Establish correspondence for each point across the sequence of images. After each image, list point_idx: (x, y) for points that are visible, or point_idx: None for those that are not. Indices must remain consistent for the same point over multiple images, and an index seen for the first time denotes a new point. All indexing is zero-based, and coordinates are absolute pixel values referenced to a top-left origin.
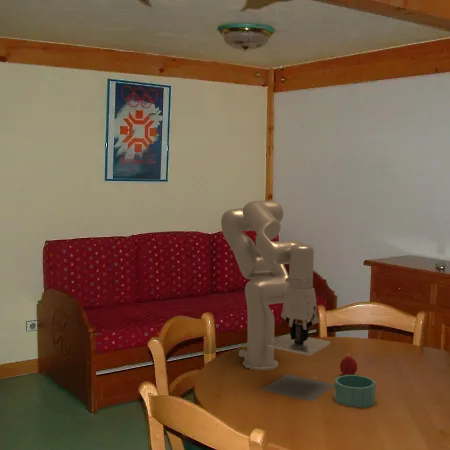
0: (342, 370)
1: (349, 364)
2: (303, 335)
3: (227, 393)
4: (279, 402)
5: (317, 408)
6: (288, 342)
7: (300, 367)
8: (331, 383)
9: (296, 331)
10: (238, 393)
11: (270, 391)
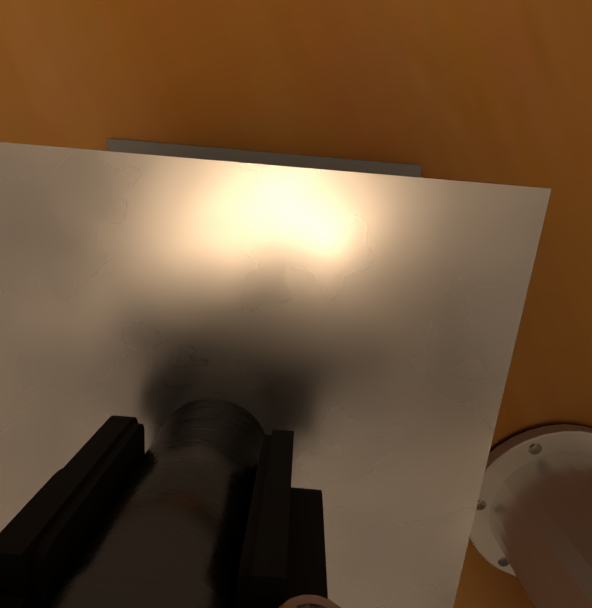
0: None
1: None
2: (65, 476)
3: (582, 20)
4: (257, 46)
5: (46, 71)
6: (325, 404)
7: None
8: None
9: (177, 519)
10: (520, 56)
11: (361, 163)
